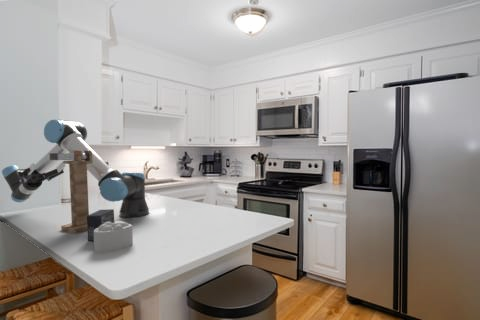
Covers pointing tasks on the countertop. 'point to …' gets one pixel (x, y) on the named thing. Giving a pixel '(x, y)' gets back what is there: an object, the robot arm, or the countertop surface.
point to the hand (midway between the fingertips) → (49, 164)
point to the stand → (78, 192)
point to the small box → (98, 221)
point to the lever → (66, 156)
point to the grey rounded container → (112, 236)
